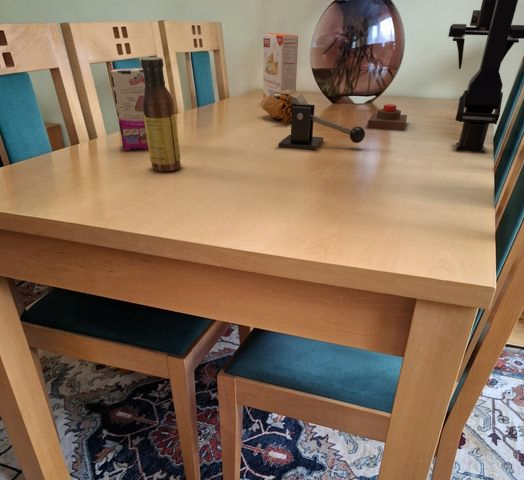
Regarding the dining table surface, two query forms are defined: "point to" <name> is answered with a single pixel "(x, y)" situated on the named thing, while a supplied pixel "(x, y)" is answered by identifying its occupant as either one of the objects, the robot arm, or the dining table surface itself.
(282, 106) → the nautilus
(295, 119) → the bracket
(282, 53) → the cracker box
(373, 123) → the button block
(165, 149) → the sauce bottle
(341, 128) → the lever
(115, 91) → the candy bar box
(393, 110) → the button
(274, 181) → the dining table surface
